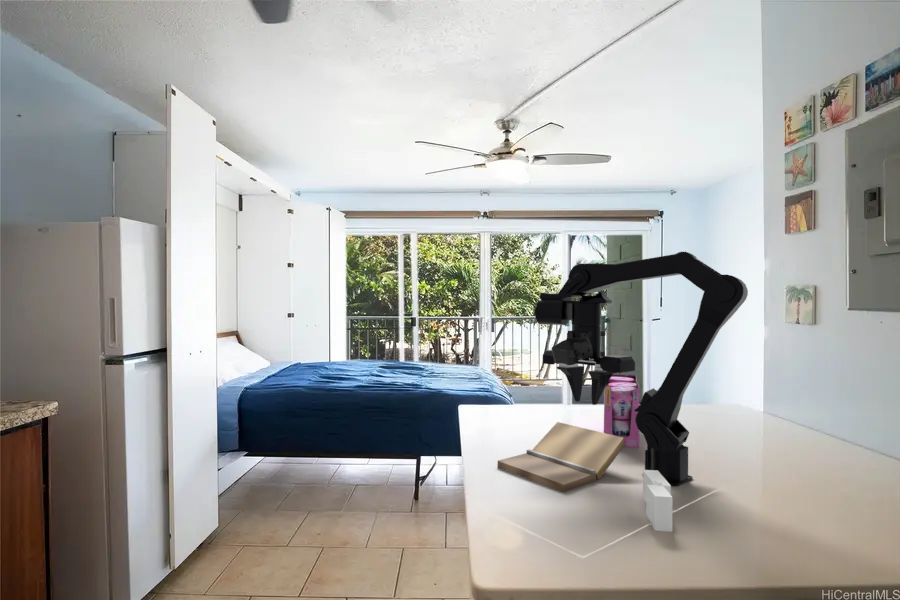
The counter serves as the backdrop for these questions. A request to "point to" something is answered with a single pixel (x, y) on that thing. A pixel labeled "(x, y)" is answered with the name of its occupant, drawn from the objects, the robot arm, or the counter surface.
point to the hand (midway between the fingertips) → (585, 402)
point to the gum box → (622, 408)
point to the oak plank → (581, 446)
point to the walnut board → (548, 470)
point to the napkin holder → (657, 500)
